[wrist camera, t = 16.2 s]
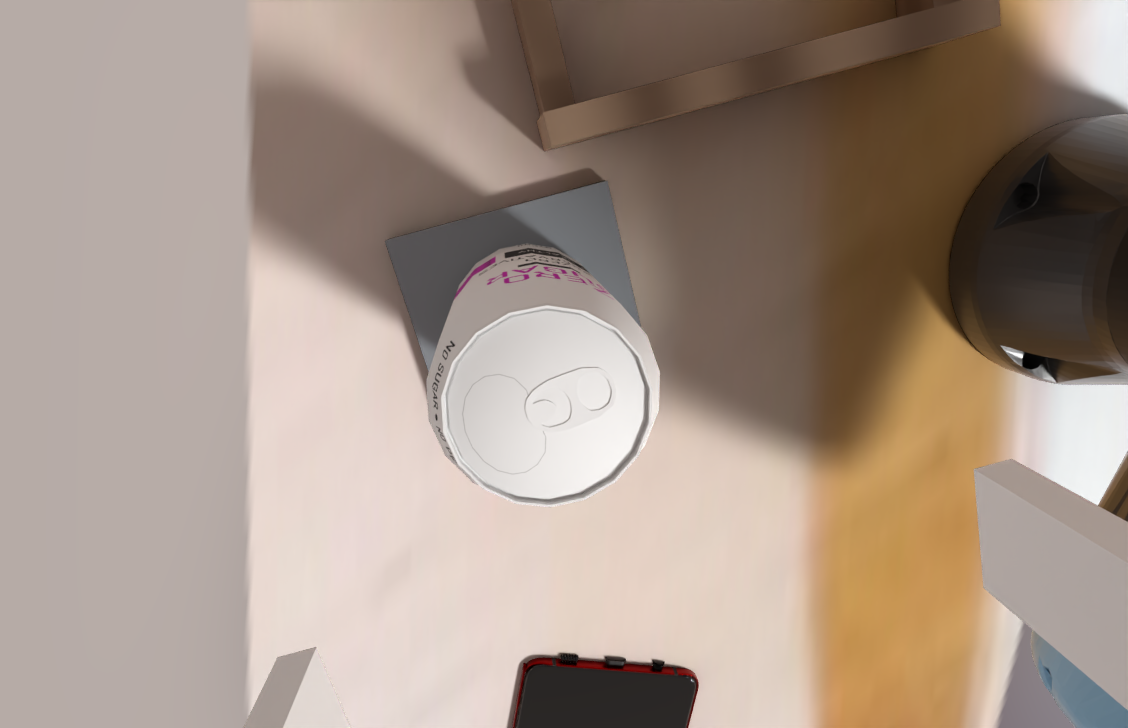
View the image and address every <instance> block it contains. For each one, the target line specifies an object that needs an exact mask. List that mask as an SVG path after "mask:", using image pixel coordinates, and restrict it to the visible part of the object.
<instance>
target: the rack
mask: <svg viewBox="0 0 1128 728" xmlns="http://www.w3.org/2000/svg"><path fill="white" fill-rule="evenodd" d="M895 2H896V12H897V18H893V19H890V20H886V21H882V22H879V23H875V24H871V25H867V26H864V27H860V28H856V29H852V30H849V31H845V32H841V33H838V34H834V35H830V36H826V37H823V38H819V39H815V40H811V41H808V42H804V43H800V44H797V45H793V46H789V47H785V48H782V49H778V50H774V51H770V52H767V53H763V54H759V55H755V56H752V57H748V58H744V59H741V60H737V61H733V62H729V63H726V64H722V65H718V66H714V67H711V68H707V69H703V70H700V71H696V72H692V73H688V74H685V75H681V76H677V77H673V78H670V79H666V80H662V81H659V82H655V83H651V84H647V85H644V86H640V87H636V88H632V89H629V90H625V91H621V92H617V93H614V94H610V95H606V96H603V97H599V98H595V99H591V100H588V101H584V102H580V103H576V104H575V102H574V98H573V94H572V90H571V85H570V81H569V77H568V73H567V68H566V64H565V60H564V56H563V52H562V47H561V43H560V39H559V35H558V30H557V26H556V22H555V18H554V13H553V9H552V5H551V1H550V0H511V3H512V7H513V11H514V14H515V18H516V22H517V26H518V30H519V34H520V38H521V42H522V46H523V50H524V54H525V58H526V62H527V66H528V70H529V74H530V78H531V82H532V86H533V90H534V94H535V98H536V102H537V106H538V110H539V114H540V118H539V119H538V121H537V125H538V129H539V133H540V137H541V141H542V145H543V149H544V151H547V150H551V149H555V148H559V147H562V146H566V145H570V144H573V143H577V142H581V141H585V140H588V139H592V138H596V137H599V136H603V135H607V134H610V133H614V132H618V131H622V130H625V129H629V128H633V127H636V126H640V125H644V124H648V123H651V122H655V121H659V120H662V119H666V118H670V117H674V116H677V115H681V114H685V113H688V112H692V111H696V110H700V109H703V108H707V107H711V106H714V105H718V104H722V103H725V102H729V101H733V100H737V99H740V98H744V97H748V96H751V95H755V94H759V93H763V92H766V91H770V90H774V89H777V88H781V87H785V86H789V85H792V84H796V83H800V82H803V81H807V80H811V79H815V78H818V77H822V76H826V75H829V74H833V73H837V72H840V71H844V70H848V69H852V68H855V67H859V66H863V65H866V64H870V63H874V62H878V61H881V60H885V59H889V58H892V57H896V56H900V55H904V54H907V53H911V52H915V51H918V50H922V49H926V48H930V47H933V46H936V45H940V44H943V43H946V42H949V41H953V40H956V39H959V38H962V37H965V36H969V35H972V34H975V33H978V32H982V31H985V30H988V29H991V28H995V27H998V26H1001V23H1000V5H999V0H895Z"/></svg>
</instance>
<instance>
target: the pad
mask: <svg viewBox="0 0 1128 728" xmlns="http://www.w3.org/2000/svg"><path fill="white" fill-rule="evenodd" d="M385 243H386V246H387V249H388V252H389V255H390V258H391V261H392V264H393V267H394V270H395V273H396V276H397V279H398V282H399V285H400V288H401V291H402V294H403V297H404V300H405V303H406V306H407V309H408V312H409V315H410V318H411V321H412V324H413V327H414V330H415V333H416V336H417V339H418V342H419V345H420V348H421V351H422V354H423V357H424V360H425V363H426V366H427V369H428V372H429V370H430V367H431V364H432V361H433V357H434V354H435V351H436V348H437V345H438V342H439V339H440V336H441V333H442V331H443V328H444V325H445V322H446V320H447V317H448V314H449V311H450V309H451V306H452V303H453V301H454V298H455V295H456V292H457V290H458V287H459V284H460V283H461V282H462V281H463V279H464V278H465V277H466V275H467V274H468V273H469V272H470V270H471V269H472V268H473V267H474V265H475V264H476V263H477V262H479V261H481V260H482V259H484V258H485V257H487V256H489V255H490V254H492V253H494V252H495V251H497V250H498V249H501V248H506V247H511V246H516V245H521V244H533V245H540V246H546V247H552V248H555V249H557V250H559V251H561V252H562V253H564V254H566V255H568V256H569V257H571V258H573V259H575V260H577V261H578V262H579V263H580V264H581V265H582V266H583V267H584V268H585V269H586V270H587V271H588V272H589V273H590V274H591V275H592V276H593V277H594V278H595V279H596V280H597V281H598V282H599V283H600V284H601V285H602V286H603V287H604V288H605V289H606V290H607V291H608V292H609V293H610V294H611V295H612V296H613V297H614V298H615V299H616V300H617V301H618V302H619V303H620V304H621V305H622V306H623V307H624V308H625V310H626V311H627V312H628V313H629V314H630V316H631V317H632V318H633V319H634V320H635V321H636V323H637V324H638V325H639V326H640V327H641V325H640V321H639V316H638V312H637V308H636V303H635V299H634V295H633V290H632V286H631V282H630V277H629V273H628V269H627V264H626V260H625V256H624V251H623V247H622V242H621V238H620V234H619V229H618V225H617V221H616V216H615V212H614V208H613V203H612V199H611V195H610V190H609V186H608V182H607V181H601V182H598V183H594V184H590V185H587V186H583V187H579V188H575V189H572V190H568V191H564V192H561V193H557V194H553V195H550V196H546V197H542V198H539V199H535V200H531V201H528V202H524V203H520V204H516V205H513V206H509V207H505V208H502V209H498V210H494V211H491V212H487V213H483V214H480V215H476V216H472V217H469V218H465V219H461V220H457V221H454V222H450V223H446V224H443V225H439V226H435V227H432V228H428V229H424V230H421V231H417V232H413V233H410V234H406V235H402V236H399V237H395V238H391V239H388V240H386V241H385Z"/></svg>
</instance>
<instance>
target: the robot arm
mask: <svg viewBox="0 0 1128 728" xmlns="http://www.w3.org/2000/svg"><path fill="white" fill-rule="evenodd" d="M949 282H950V293H951V299H952V304H953V307H954V311H955V314H956V317H957V319H958V322H959V324H960V326H961V328H962V330H963V331H964V333H965V335H966V336H967V338H968V339H969V340H970V342H971V343H972V344H973V345H974V346H975V347H976V349H978V350H979V351H980V352H981V353H982V354H983V355H984V356H986V357H987V358H988V359H990V360H991V361H993V362H994V363H996V364H998V365H1000V366H1002V367H1004V368H1006V369H1009V370H1012V371H1014V372H1017V373H1020V374H1023V375H1025V376H1028V377H1031V378H1034V379H1037V380H1040V381H1045V382H1050V383H1056V384H1065V385H1128V114H1117V115H1107V116H1097V117H1088V118H1080V119H1075V120H1070V121H1066V122H1063V123H1060V124H1057V125H1054V126H1052V127H1049V128H1047V129H1045V130H1043V131H1041V132H1039V133H1037V134H1035V135H1033V136H1032V137H1030V138H1028V139H1027V140H1025V141H1024V142H1022V143H1021V144H1019V145H1018V146H1017V147H1016V148H1014V149H1013V150H1012V151H1010V152H1009V153H1008V154H1007V155H1006V156H1005V157H1004V158H1003V159H1002V160H1001V161H1000V162H999V163H998V164H997V165H996V166H995V167H994V168H993V169H992V170H991V171H990V172H989V173H988V175H987V176H986V177H985V179H984V180H983V181H982V182H981V184H980V185H979V187H978V188H977V190H976V191H975V193H974V194H973V196H972V198H971V199H970V201H969V203H968V205H967V207H966V209H965V211H964V213H963V215H962V218H961V220H960V223H959V225H958V228H957V231H956V235H955V238H954V242H953V246H952V252H951V258H950V268H949ZM974 477H975V489H976V501H977V513H978V525H979V538H980V550H981V562H982V574H983V586H984V589H985V590H987V591H988V592H989V593H990V594H991V595H992V596H994V597H995V598H996V599H997V600H998V601H1000V602H1001V603H1002V604H1003V605H1004V606H1005V607H1007V608H1008V609H1009V610H1010V611H1011V612H1012V613H1014V614H1015V615H1016V616H1017V617H1018V618H1020V619H1021V620H1022V621H1023V622H1024V623H1025V624H1027V625H1028V626H1029V627H1030V628H1031V629H1032V634H1031V651H1032V656H1033V660H1034V663H1035V666H1036V669H1037V671H1038V673H1039V675H1040V677H1041V680H1042V681H1043V683H1044V685H1045V686H1046V688H1047V689H1048V690H1049V692H1050V693H1051V694H1052V696H1053V697H1054V700H1055V701H1056V703H1057V705H1058V707H1059V708H1060V709H1061V711H1062V712H1063V713H1064V714H1065V716H1066V717H1067V718H1068V719H1069V721H1070V722H1071V723H1072V724H1073V725H1074V727H1075V728H1128V451H1127V453H1126V455H1125V457H1124V459H1123V461H1122V462H1121V464H1120V466H1119V468H1118V470H1117V472H1116V474H1115V475H1114V477H1113V479H1112V481H1111V483H1110V485H1109V486H1108V488H1107V490H1106V492H1105V494H1104V496H1103V497H1102V499H1101V501H1100V503H1099V505H1098V506H1097V505H1096V504H1094V503H1092V502H1090V501H1088V500H1086V499H1085V498H1083V497H1081V496H1079V495H1077V494H1075V493H1074V492H1072V491H1070V490H1068V489H1066V488H1064V487H1063V486H1061V485H1059V484H1057V483H1055V482H1053V481H1051V480H1050V479H1048V478H1046V477H1044V476H1042V475H1040V474H1039V473H1037V472H1035V471H1033V470H1031V469H1029V468H1028V467H1026V466H1024V465H1022V464H1020V463H1018V462H1017V461H1015V460H1013V459H1009V460H1006V461H1002V462H998V463H995V464H991V465H987V466H983V467H980V468H976V469H974ZM243 728H351V726H350V724H349V721H348V719H347V717H346V714H345V712H344V710H343V707H342V705H341V703H340V700H339V698H338V696H337V693H336V691H335V689H334V686H333V684H332V682H331V679H330V677H329V675H328V672H327V670H326V668H325V665H324V663H323V661H322V658H321V656H320V654H319V651H318V649H317V647H314V648H310V649H307V650H303V651H299V652H296V653H292V654H288V655H284V656H281V657H278V658H277V660H276V662H275V664H274V666H273V668H272V670H271V672H270V674H269V676H268V678H267V680H266V682H265V684H264V686H263V688H262V690H261V692H260V695H259V697H258V699H257V701H256V703H255V705H254V707H253V709H252V711H251V713H250V715H249V717H248V719H247V721H246V723H245V725H244V727H243Z"/></svg>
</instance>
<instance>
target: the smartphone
mask: <svg viewBox="0 0 1128 728" xmlns="http://www.w3.org/2000/svg"><path fill="white" fill-rule="evenodd" d="M566 658H567V660H568V662H565V661H566ZM563 659H564V661H563V662H562V660H563ZM569 659H570V661H571V662H570V661H569ZM573 661H574V662H573ZM576 661H577V663H576ZM625 661H626V659H625V660H624V661H623V662H622V661H610V660H608V659H607V658H606V662H599V661H585V660H578V657H577V658H576V655H575V657H573V656H572V657H570V654H569V657H567V654H566V657H565V656H564V655H563V657H562V655H561V659H559V658H545V657H542V658H535V659H532V660H530V661H529V662H527V663H523V669H522V674H521V680H520V685H519V691H518V696H517V702H516V708H515V713H514V719H513V724H512V728H514V727H515V721H516V716H517V710H518V707H519V711H518V716H517V722H516V727H515V728H688V726H689V722H690V718H691V714H692V711H693V707H694V703H695V699H696V695H697V691H698V686H699V684H698V679H697V677H696V675H695V673H694V672H693V671H691V670H689V669H685V668H676V667H664V666H663V665H664V662H663V664H662V665H658V664H656V663H655V662H654V661H653V666H651V665H638V664H625ZM662 666H663V667H662ZM525 672H526V676H525V678H524V675H525ZM694 678H695V679H696V683H695V680H694ZM523 681H524V684H523ZM522 686H523V689H522ZM521 692H522V695H521ZM520 697H521V700H520ZM519 703H520V705H519Z"/></svg>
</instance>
